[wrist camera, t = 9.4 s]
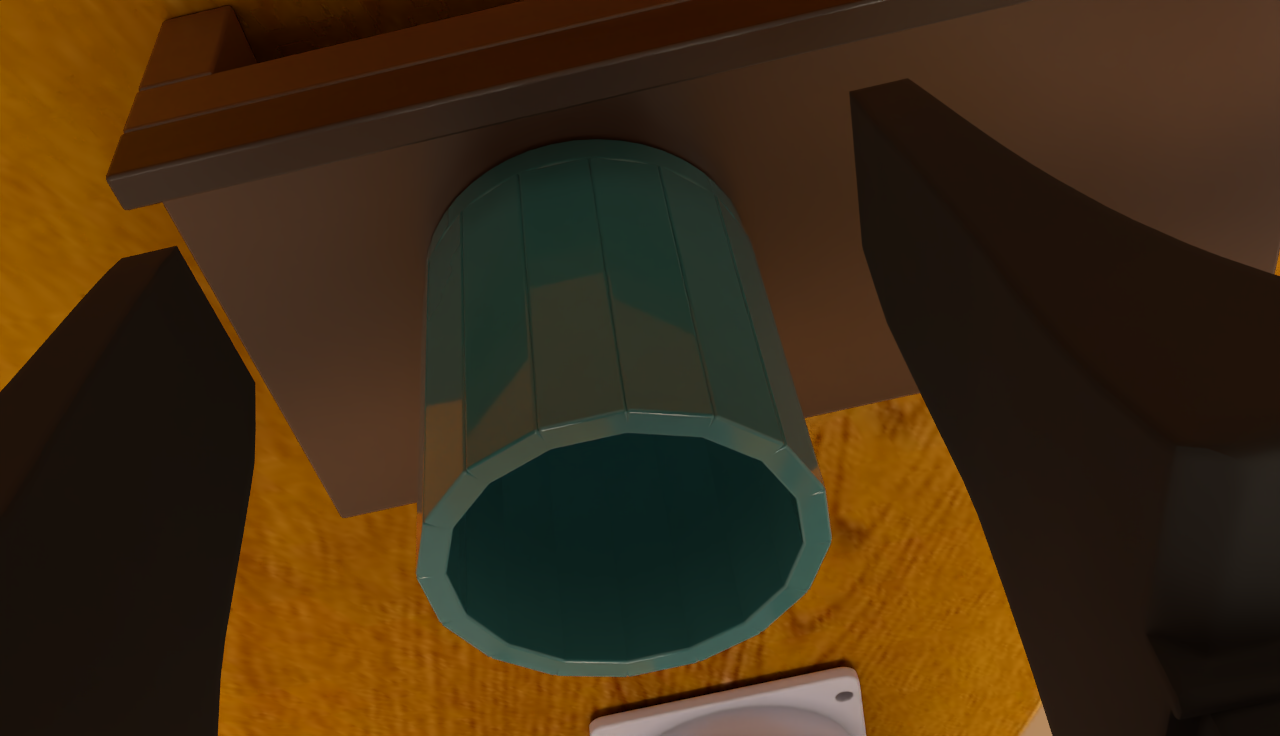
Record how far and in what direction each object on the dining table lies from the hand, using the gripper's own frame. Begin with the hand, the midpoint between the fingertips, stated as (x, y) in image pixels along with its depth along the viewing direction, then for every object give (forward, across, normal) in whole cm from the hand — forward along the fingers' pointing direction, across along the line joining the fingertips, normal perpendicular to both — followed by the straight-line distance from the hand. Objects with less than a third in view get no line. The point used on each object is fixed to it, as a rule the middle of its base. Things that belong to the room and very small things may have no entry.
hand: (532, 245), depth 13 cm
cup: (+6, 0, +5) cm, 7 cm away
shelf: (+9, -3, +5) cm, 11 cm away
